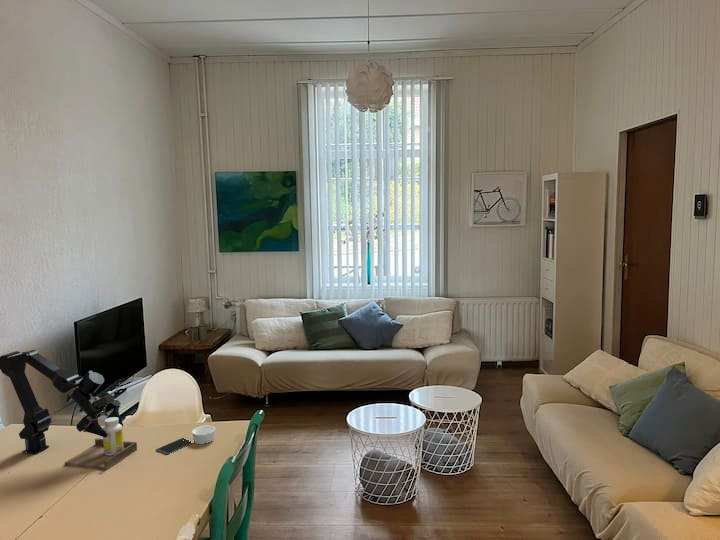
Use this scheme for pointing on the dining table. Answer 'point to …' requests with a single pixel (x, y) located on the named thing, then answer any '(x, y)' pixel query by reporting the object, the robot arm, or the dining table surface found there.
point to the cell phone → (173, 446)
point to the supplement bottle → (113, 436)
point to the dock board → (101, 456)
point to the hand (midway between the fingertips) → (114, 431)
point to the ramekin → (203, 434)
